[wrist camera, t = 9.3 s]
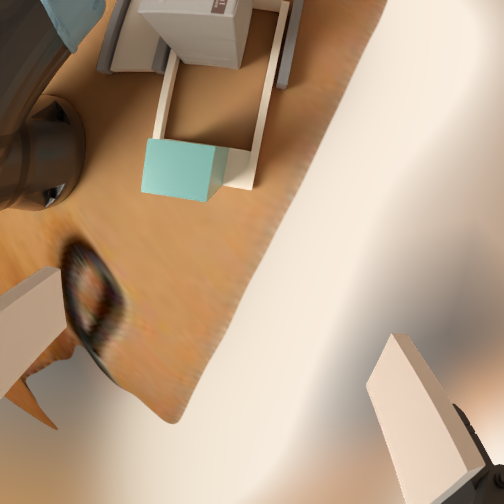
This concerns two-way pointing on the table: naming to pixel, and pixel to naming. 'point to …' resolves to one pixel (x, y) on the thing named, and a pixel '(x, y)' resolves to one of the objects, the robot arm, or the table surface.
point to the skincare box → (202, 29)
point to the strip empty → (135, 43)
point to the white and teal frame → (204, 155)
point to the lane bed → (164, 48)
